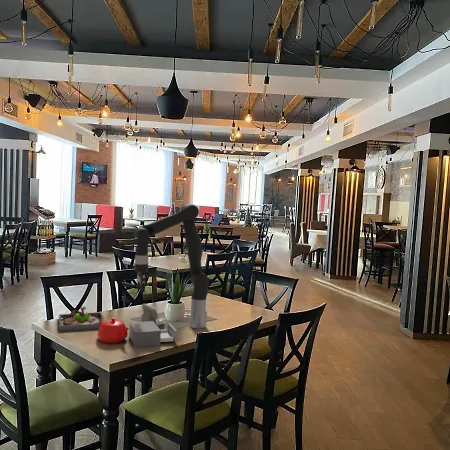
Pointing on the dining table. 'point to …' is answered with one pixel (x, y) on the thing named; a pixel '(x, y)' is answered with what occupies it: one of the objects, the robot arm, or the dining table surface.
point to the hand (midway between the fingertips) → (141, 290)
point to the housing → (144, 334)
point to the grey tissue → (149, 314)
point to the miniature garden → (81, 319)
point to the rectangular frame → (79, 327)
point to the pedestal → (161, 327)
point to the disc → (161, 321)
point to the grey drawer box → (168, 334)
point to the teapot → (112, 331)
